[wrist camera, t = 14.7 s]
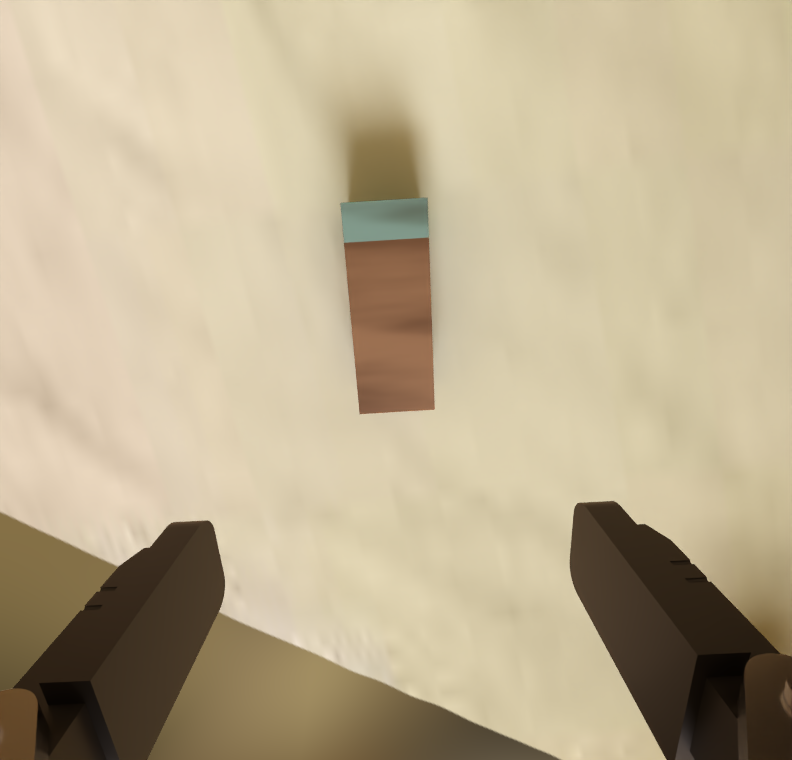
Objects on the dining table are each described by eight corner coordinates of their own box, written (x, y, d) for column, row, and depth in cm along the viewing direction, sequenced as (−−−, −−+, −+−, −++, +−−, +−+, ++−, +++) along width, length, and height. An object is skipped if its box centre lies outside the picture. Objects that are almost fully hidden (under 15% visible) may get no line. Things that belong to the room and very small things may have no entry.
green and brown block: (364, 390, 30) (348, 211, 26) (427, 386, 30) (420, 206, 26) (359, 414, 25) (340, 203, 22) (434, 409, 25) (427, 197, 22)
